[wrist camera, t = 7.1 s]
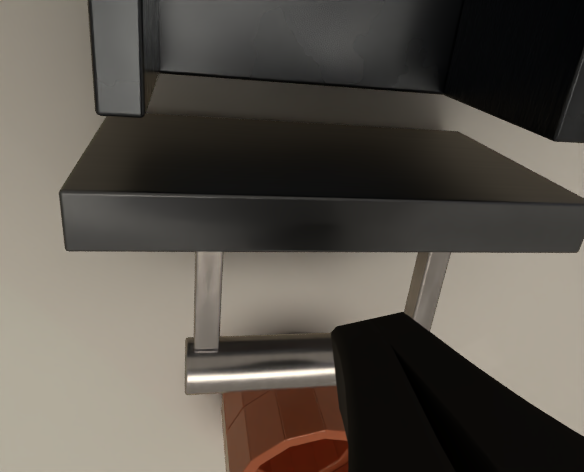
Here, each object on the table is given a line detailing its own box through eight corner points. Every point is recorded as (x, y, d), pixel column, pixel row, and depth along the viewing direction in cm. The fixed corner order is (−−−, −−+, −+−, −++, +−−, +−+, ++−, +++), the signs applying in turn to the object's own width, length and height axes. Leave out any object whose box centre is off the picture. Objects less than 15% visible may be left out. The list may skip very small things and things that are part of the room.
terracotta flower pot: (362, 328, 20) (410, 423, 16) (342, 431, 23) (379, 538, 18) (223, 333, 19) (234, 436, 15) (218, 441, 22) (226, 557, 17)
